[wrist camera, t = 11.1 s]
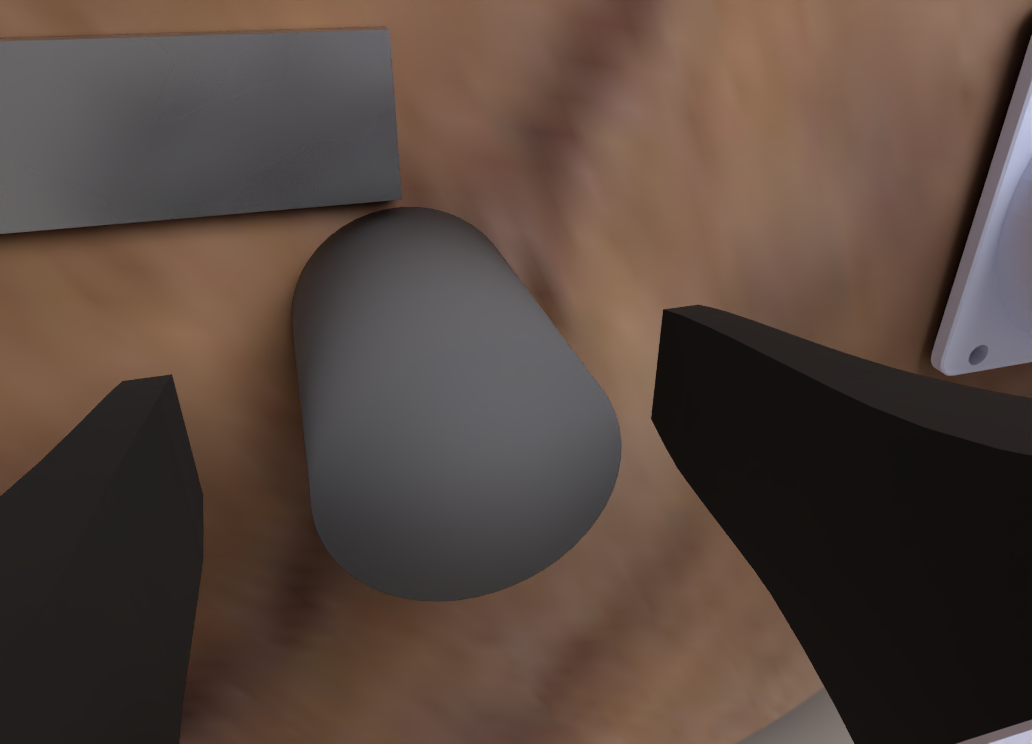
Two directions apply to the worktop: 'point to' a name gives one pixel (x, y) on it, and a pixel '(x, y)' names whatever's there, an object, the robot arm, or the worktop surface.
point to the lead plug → (442, 411)
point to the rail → (193, 125)
